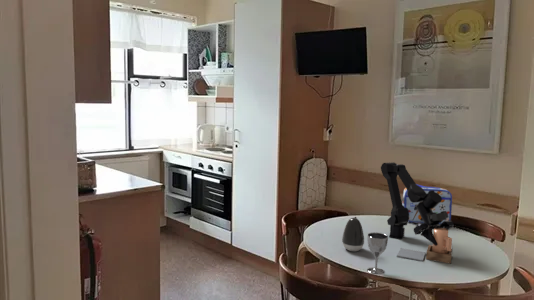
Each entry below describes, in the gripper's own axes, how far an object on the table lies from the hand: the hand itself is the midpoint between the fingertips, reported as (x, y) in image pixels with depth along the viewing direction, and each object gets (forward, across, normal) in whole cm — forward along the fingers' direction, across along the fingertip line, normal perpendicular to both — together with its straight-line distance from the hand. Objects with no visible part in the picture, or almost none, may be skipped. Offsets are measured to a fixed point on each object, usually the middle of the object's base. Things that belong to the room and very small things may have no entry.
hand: (442, 244), depth 186 cm
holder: (+4, 0, +6) cm, 7 cm away
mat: (-1, -10, +10) cm, 14 cm away
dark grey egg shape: (-11, -32, +20) cm, 39 cm away
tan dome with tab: (+5, 0, +5) cm, 7 cm away
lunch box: (-30, +32, +39) cm, 59 cm away
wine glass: (+7, -36, +3) cm, 37 cm away
